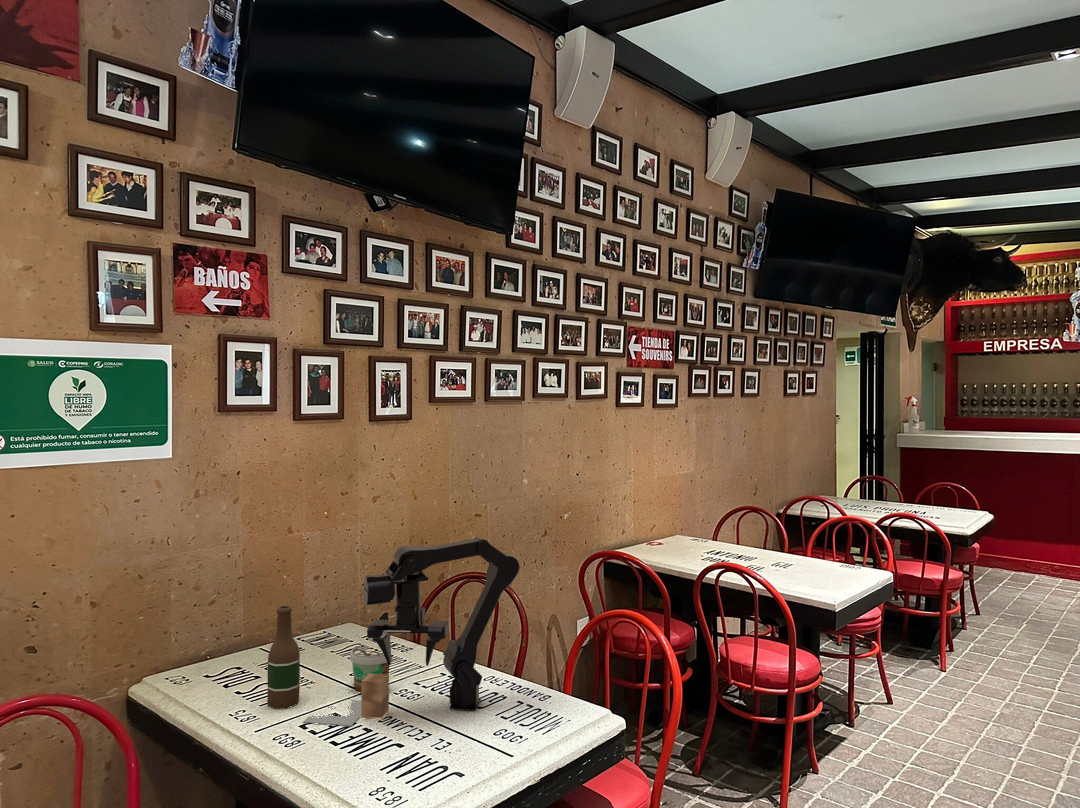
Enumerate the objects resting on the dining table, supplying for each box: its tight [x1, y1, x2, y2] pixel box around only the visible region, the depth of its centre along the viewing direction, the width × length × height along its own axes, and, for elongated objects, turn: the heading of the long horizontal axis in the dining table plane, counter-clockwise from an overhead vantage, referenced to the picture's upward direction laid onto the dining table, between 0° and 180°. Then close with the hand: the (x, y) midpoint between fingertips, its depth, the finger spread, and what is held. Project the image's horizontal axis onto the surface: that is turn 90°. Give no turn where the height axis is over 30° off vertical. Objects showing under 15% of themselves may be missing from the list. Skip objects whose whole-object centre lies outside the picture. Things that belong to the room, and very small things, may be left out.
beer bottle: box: [266, 605, 301, 709], centre depth 182 cm, size 8×8×24 cm
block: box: [360, 673, 390, 721], centre depth 176 cm, size 5×5×9 cm
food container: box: [349, 645, 393, 693], centre depth 191 cm, size 12×6×10 cm, turn 62°
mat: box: [302, 699, 361, 728], centre depth 177 cm, size 12×14×1 cm
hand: (408, 664), depth 176 cm, fingers open, 9 cm apart
